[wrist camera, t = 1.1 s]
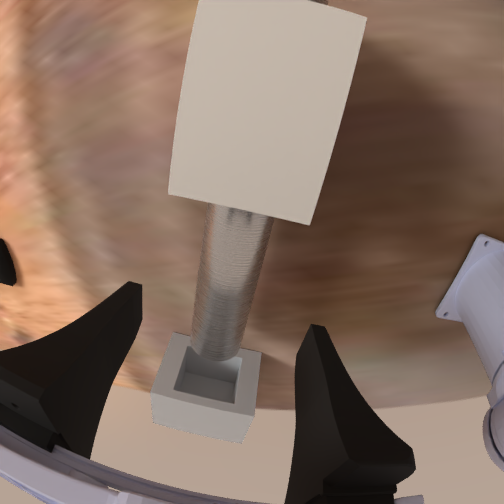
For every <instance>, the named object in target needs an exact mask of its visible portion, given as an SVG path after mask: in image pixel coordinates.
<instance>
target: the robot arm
mask: <svg viewBox="0 0 504 504" xmlns="http://www.w3.org/2000/svg"><path fill="white" fill-rule="evenodd" d="M486 241H487V243H486V244H485V242H486ZM444 313H445V314H444ZM435 314H436V316H437V317H438V318H443V319H448V320H454V321H459V322H463V323H464V325H465V327H466V329H467V331H468V334H469V336H470V338H471V340H472V342H473V344H474V346H475V348H476V350H477V353H478V355H479V357H480V359H481V361H482V364H483V366H484V368H485V370H486V373H487V375H488V378H489V380H490V382H491V385H492V389H491V391H490V392H489V393H488V394H487V398H488V401H489V404H490V406H491V407H490V409H489V410H488V411H487V413H486V415H485V417H484V421H483V438H484V443H485V447H486V450H487V452H488V454H489V456H490V458H491V460H492V461H493V462H494V463H495V464H496V465H497V466H498V467H499V468H500V469H501V470H502V471H504V242H502V241H499V240H497V239H494V238H492V237H489V236H487V235H484V234H480V235H479V236H478V237H477V238H476V240H475V242H474V244H473V246H472V248H471V250H470V252H469V254H468V256H467V258H466V260H465V261H464V263H463V265H462V267H461V269H460V271H459V272H458V274H457V276H456V278H455V280H454V281H453V283H452V285H451V286H450V288H449V290H448V292H447V293H446V295H445V297H444V298H443V300H442V302H441V303H440V305H439V306H438V308H437V310H436V312H435ZM141 322H142V285H141V284H138V283H134V282H130V281H129V282H127V283H126V284H124V285H123V286H122V287H121V288H119V289H118V290H117V291H115V292H114V293H113V294H112V295H110V296H109V297H108V298H107V299H105V300H104V301H103V302H101V303H100V304H99V305H97V306H96V307H95V308H93V309H92V310H90V311H89V312H87V313H86V314H84V315H83V316H81V317H80V318H78V319H77V320H75V321H74V322H72V323H70V324H69V325H67V326H65V327H63V328H62V329H60V330H58V331H56V332H54V333H51V334H49V335H47V336H45V337H43V338H41V339H38V340H36V341H33V342H30V343H27V344H24V345H21V346H18V347H15V348H11V349H7V350H3V351H0V476H1V477H3V478H5V479H6V480H7V481H9V482H11V483H12V484H14V485H15V486H17V487H19V488H20V489H22V490H23V491H25V492H27V493H28V494H30V495H32V496H34V497H35V498H37V499H39V500H41V501H43V502H45V503H46V504H267V503H258V502H250V501H242V500H235V499H229V498H223V497H217V496H212V495H207V494H202V493H197V492H192V491H188V490H183V489H179V488H175V487H171V486H167V485H164V484H160V483H156V482H153V481H149V480H146V479H143V478H140V477H136V476H133V475H130V474H127V473H124V472H121V471H119V470H116V469H113V468H110V467H107V466H105V465H102V464H99V463H97V462H94V461H92V460H90V456H91V452H92V447H93V443H94V439H95V435H96V432H97V428H98V425H99V421H100V418H101V415H102V411H103V408H104V405H105V402H106V399H107V396H108V393H109V391H110V388H111V386H112V383H113V381H114V379H115V377H116V375H117V373H118V371H119V369H120V367H121V365H122V363H123V361H124V359H125V357H126V355H127V354H128V352H129V350H130V348H131V346H132V344H133V342H134V340H135V338H136V335H137V333H138V330H139V327H140V325H141ZM295 409H296V429H295V441H294V449H293V457H292V465H291V471H290V477H289V483H288V489H287V494H286V499H285V503H284V504H424V498H423V495H417V496H409V497H401V498H397V499H394V496H393V494H394V493H396V492H397V486H396V484H398V483H399V482H401V481H403V480H404V479H406V478H408V477H409V476H410V475H411V474H413V472H414V471H415V470H416V466H415V459H414V454H413V450H412V448H411V447H410V446H409V445H408V444H406V443H405V442H404V441H403V440H401V439H400V438H399V437H398V436H397V435H396V434H395V433H393V431H392V430H391V429H389V428H388V427H387V426H386V424H385V423H384V422H383V421H382V420H381V419H380V418H379V417H378V416H377V414H376V413H375V412H374V411H373V410H372V409H371V407H370V406H369V405H368V403H367V402H366V401H365V399H364V398H363V397H362V395H361V394H360V392H359V391H358V389H357V388H356V386H355V385H354V383H353V381H352V380H351V378H350V376H349V374H348V373H347V371H346V369H345V367H344V365H343V363H342V361H341V359H340V357H339V355H338V353H337V351H336V349H335V347H334V345H333V343H332V341H331V339H330V336H329V334H328V332H327V330H326V328H325V327H324V326H319V325H314V324H311V325H310V327H309V330H308V332H307V334H306V336H305V338H304V340H303V342H302V345H301V347H300V349H299V351H298V353H297V355H296V365H295ZM108 486H109V487H112V488H114V489H117V490H120V491H121V492H118V491H115V490H111V489H108Z"/></svg>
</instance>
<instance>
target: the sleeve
mask: <svg viewBox="0 0 504 504" xmlns="http://www.w3.org/2000/svg"><path fill="white" fill-rule="evenodd" d="M366 21H367V17H364V16H361V15H358V14H355V13H352V12H348V11H345V10H342V9H338V8H335V7H331V6H328V5H324V4H320V3H316V2H312V1H308V0H199V3H198V7H197V11H196V16H195V20H194V25H193V30H192V34H191V39H190V44H189V49H188V54H187V60H186V65H185V71H184V76H183V82H182V88H181V94H180V101H179V107H178V114H177V121H176V128H175V135H174V143H173V151H172V159H171V168H170V177H169V187H168V194H171V195H175V196H180V197H185V198H190V199H195V200H200V201H204V202H209V203H214V204H218V205H223V206H228V207H232V208H237V209H241V210H246V211H250V212H254V213H259V214H263V215H268V216H272V217H276V218H280V219H285V220H289V221H293V222H297V223H301V224H306V225H310V223H311V220H312V217H313V214H314V210H315V207H316V204H317V201H318V197H319V194H320V191H321V188H322V184H323V181H324V178H325V174H326V171H327V168H328V164H329V161H330V157H331V154H332V151H333V147H334V144H335V140H336V137H337V133H338V130H339V126H340V122H341V119H342V115H343V111H344V108H345V104H346V100H347V97H348V93H349V89H350V85H351V82H352V78H353V74H354V70H355V66H356V62H357V58H358V54H359V50H360V46H361V42H362V38H363V33H364V29H365V25H366Z"/></svg>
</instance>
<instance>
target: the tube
mask: <svg viewBox="0 0 504 504" xmlns="http://www.w3.org/2000/svg"><path fill="white" fill-rule="evenodd" d="M308 1H312V2H316V3H320V4H324V5H328V0H308ZM274 218H275V217H272V216H268V215H263V214H259V213H254V212H250V211H246V210H241V209H237V208H232V207H228V206H223V205H218V204H214V203H209V202H208V207H207V213H206V220H205V227H204V234H203V241H202V248H201V255H200V263H199V270H198V278H197V286H196V294H195V302H194V311H193V320H192V329H191V338H190V342H191V346H192V348H193V350H194V351H195V352H196V353H197V354H198V355H199V356H201V357H202V358H204V359H207V360H210V361H216V362H221V361H226V360H229V359H231V358H233V357H234V356H235V355H236V354H237V353H238V351H239V349H240V345H241V342H242V338H243V334H244V331H245V327H246V323H247V320H248V316H249V312H250V309H251V305H252V301H253V297H254V294H255V290H256V286H257V283H258V279H259V275H260V271H261V268H262V264H263V260H264V256H265V252H266V249H267V245H268V241H269V237H270V233H271V230H272V226H273V222H274Z"/></svg>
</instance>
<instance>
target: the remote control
mask: <svg viewBox="0 0 504 504" xmlns="http://www.w3.org/2000/svg"><path fill="white" fill-rule="evenodd" d="M0 283H3V284H6V285H10V286H13V285H14V284H15V283H16V272H15V268H14V264H13V261H12V258H11V256H10V253H9V251H8V248H7V246H6V244H5V242H4V241H3V240H2V239H0Z"/></svg>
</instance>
